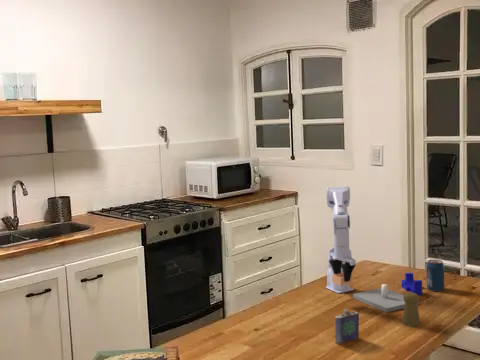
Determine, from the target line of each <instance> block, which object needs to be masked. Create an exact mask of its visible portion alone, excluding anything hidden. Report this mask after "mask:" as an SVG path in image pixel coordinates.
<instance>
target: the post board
mask: <svg viewBox="0 0 480 360" xmlns="http://www.w3.org/2000/svg"><path fill="white" fill-rule="evenodd" d="M403 297H404V294H402V293H399V292H397V291H394V290H391V289H389V284H386V283H385V284H384V283H383V284H381V287H379V288H375V289H370V290H364V291H361V292H355V293H353V294H352V298H353V299H355V300H357V301H360V302H362V303H364V304H366V305H369V306H371V307H373V308H376V309H378V310H380V311H382V312H384V313H390V312H393V311H398V310H402V309H404V307H405V301H404V299H403ZM417 305H418V306H419V301H418V303H417Z"/></svg>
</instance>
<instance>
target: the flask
mask: <svg viewBox="0 0 480 360" xmlns="http://www.w3.org/2000/svg"><path fill="white" fill-rule="evenodd" d="M359 315H360V313H359V312H357V311H353V310H352V311H349V310H348V308H343V313H341V314H338V315H336V316H334V333H335V334H334V336H335V337H334V339H335V341H334V343H335V344H337V345H342V344H345V343H350V342H353V341H356V340H359V336H360V333H359V332H360V331H359V329H360V326H359V323H360V321H359V320H360V316H359Z"/></svg>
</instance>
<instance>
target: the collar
mask: <svg viewBox="0 0 480 360" xmlns="http://www.w3.org/2000/svg"><path fill="white" fill-rule="evenodd" d="M353 277H354V276H353V275H352V274H351V278H350V281H347V282H345V281H344V274H343V273H339V274H334V275H332V282H333V283H335V284H338V285H340V286H342V285H347V284H349V285H352V284H353V281H354V279H353Z"/></svg>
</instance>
